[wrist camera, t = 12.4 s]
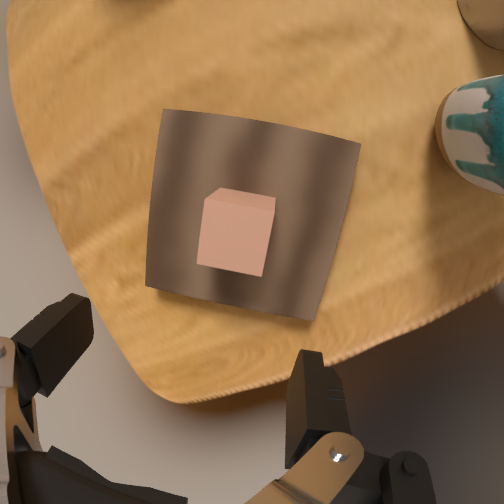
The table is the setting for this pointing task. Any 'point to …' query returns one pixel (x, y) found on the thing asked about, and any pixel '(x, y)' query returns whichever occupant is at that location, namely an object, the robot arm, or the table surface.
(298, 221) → the walnut base
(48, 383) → the robot arm
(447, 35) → the table surface
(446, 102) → the vase
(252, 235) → the pink block
